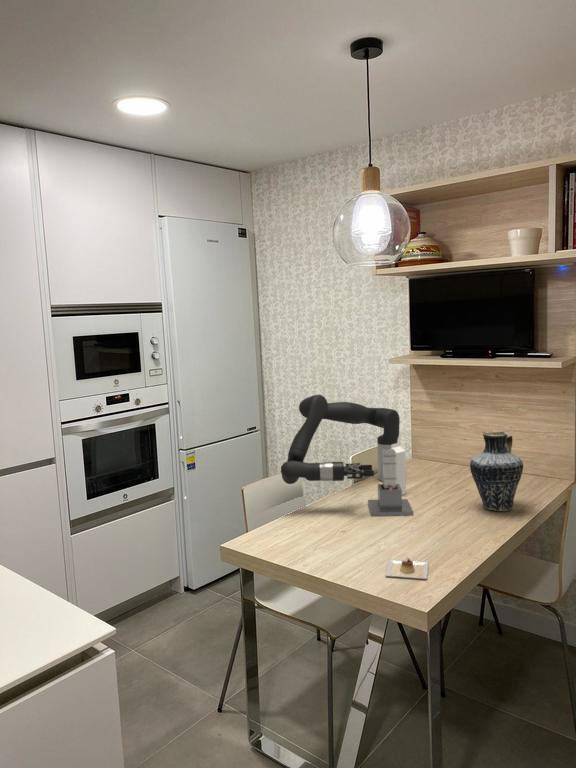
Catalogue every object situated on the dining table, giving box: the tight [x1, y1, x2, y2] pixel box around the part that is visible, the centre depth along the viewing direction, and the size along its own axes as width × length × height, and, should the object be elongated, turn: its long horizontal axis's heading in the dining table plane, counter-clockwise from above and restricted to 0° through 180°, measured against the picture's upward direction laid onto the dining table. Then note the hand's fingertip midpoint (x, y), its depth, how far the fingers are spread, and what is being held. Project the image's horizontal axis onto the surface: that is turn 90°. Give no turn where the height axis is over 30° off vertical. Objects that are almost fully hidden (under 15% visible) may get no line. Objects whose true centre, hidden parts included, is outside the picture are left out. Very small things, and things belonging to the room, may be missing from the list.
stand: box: [367, 483, 414, 517], centre depth 241 cm, size 16×16×10 cm
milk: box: [391, 442, 407, 496], centre depth 260 cm, size 6×6×22 cm
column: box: [382, 449, 396, 489], centre depth 240 cm, size 5×5×22 cm
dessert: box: [385, 556, 429, 580], centre depth 184 cm, size 12×12×5 cm
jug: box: [469, 430, 524, 512], centre depth 237 cm, size 21×19×30 cm
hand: (372, 470), depth 240 cm, fingers open, 8 cm apart
